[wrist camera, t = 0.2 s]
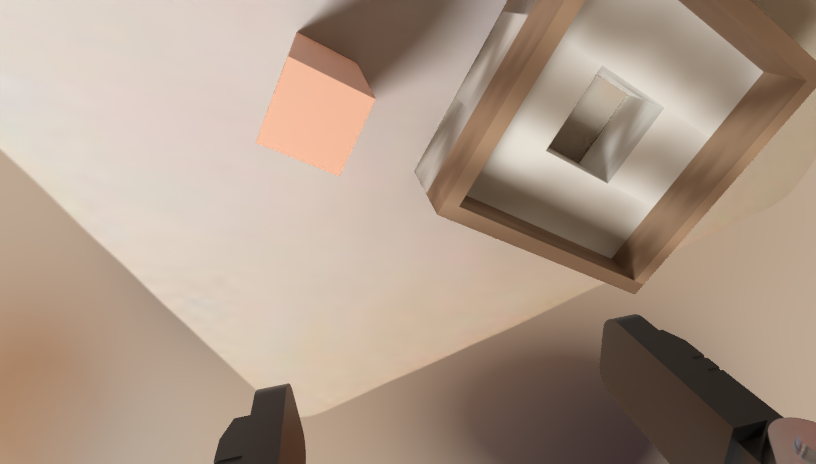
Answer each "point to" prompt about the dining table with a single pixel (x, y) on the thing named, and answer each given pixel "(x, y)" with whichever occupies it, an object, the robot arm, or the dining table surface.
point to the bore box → (612, 126)
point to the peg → (317, 106)
